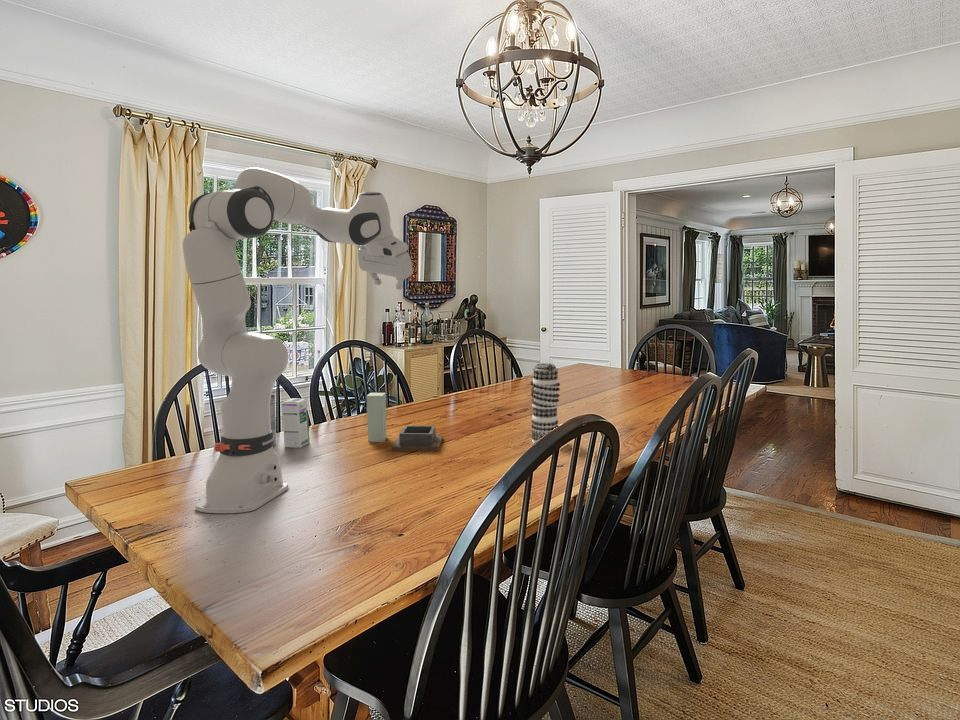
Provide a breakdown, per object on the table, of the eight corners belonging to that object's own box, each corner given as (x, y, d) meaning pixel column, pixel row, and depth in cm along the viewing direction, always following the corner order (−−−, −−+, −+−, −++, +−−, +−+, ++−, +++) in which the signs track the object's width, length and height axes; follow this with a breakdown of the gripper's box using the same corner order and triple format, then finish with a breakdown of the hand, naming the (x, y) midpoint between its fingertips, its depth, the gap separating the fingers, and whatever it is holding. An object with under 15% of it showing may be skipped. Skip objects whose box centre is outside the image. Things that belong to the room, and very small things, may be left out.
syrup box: (301, 448, 177) (298, 402, 175) (283, 447, 178) (281, 401, 176) (310, 443, 182) (308, 398, 180) (293, 442, 183) (290, 397, 181)
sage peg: (383, 441, 183) (382, 395, 181) (368, 441, 184) (366, 395, 181) (386, 437, 188) (385, 392, 186) (371, 437, 188) (370, 392, 186)
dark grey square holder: (437, 451, 173) (437, 435, 173) (391, 450, 174) (391, 435, 173) (442, 438, 187) (442, 424, 186) (400, 438, 188) (399, 424, 187)
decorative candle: (551, 447, 177) (553, 367, 173) (525, 443, 181) (525, 365, 178) (563, 440, 184) (565, 363, 181) (537, 436, 189) (538, 361, 186)
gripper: (349, 244, 178) (358, 285, 185) (397, 252, 167) (405, 295, 174) (364, 237, 183) (372, 278, 190) (411, 245, 172) (419, 287, 178)
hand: (388, 286), depth 182 cm, fingers open, 8 cm apart
